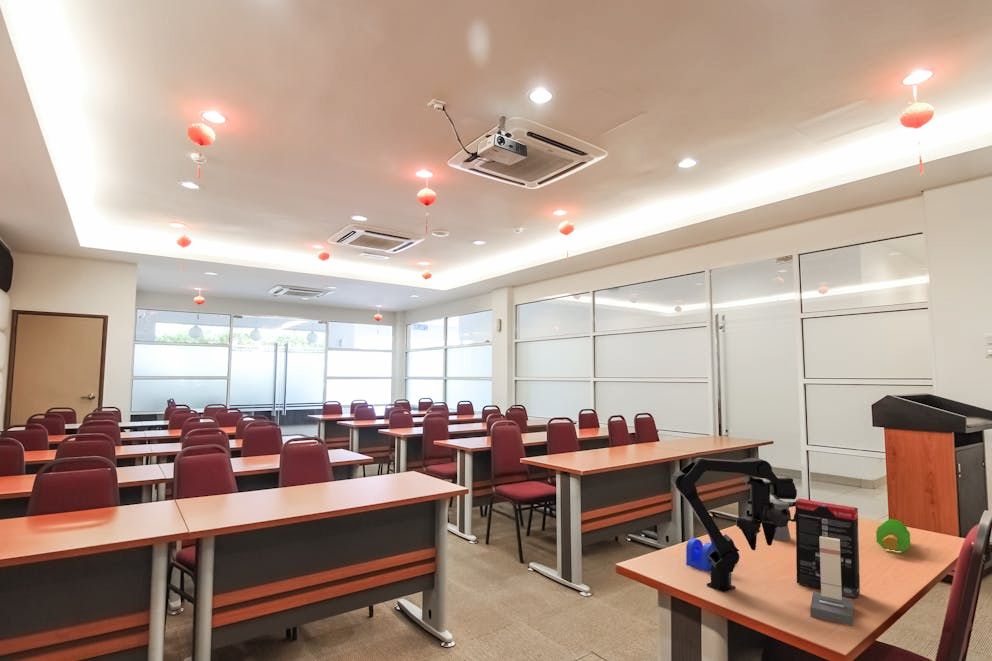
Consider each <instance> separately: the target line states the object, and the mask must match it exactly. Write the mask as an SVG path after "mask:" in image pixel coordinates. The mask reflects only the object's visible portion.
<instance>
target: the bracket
mask: <svg viewBox="0 0 992 661" xmlns="http://www.w3.org/2000/svg"><path fill="white" fill-rule="evenodd" d="M713 551H714V549H713V546H712V544H711V542H706V543H705V544H704V545H703V542H702V540H700V538H699V539H698V538H695V537H691V538H690V539H689V540H688V541H687V544H686V548H685V552H686V553H685V554H686V555H685V557H686V561H685V562H686V563H685V564H686V566H689V567H692V568H695V569H698V570H699V571H700V570H701V571H703V572H705V571H706V573H708V572H711V565H712V564H711V563H710V562H709V560H708V555H709V554H710V553H712V552H713Z"/></svg>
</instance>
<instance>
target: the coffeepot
mask: <svg viewBox="0 0 992 661" xmlns="http://www.w3.org/2000/svg"><path fill="white" fill-rule="evenodd" d="M770 502H773V504H774V508H775V509H777V510H778V509H780V511H781V510H782V509H788V510H789V511H790V507H795V501H786V500H784V499H775V498H772V499H771V498H770ZM791 522H793V523H796V509H795V512H794V514H793V518H791ZM773 539H775V540H774V541H778V540H780V541H781V542H789V541H790V540H791V535H790V528H789V523H788V524H787V526H784V527H782V528H780V527H779V528H777V530H776V532H775V535H774V538H773ZM780 541H779V542H780Z"/></svg>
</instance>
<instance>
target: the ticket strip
mask: <svg viewBox="0 0 992 661" xmlns="http://www.w3.org/2000/svg"><path fill="white" fill-rule="evenodd" d="M819 541H820V572H821V589H820V593H821V596H825V597H830V598H834V599H839V600H842V597H843V595H842V590H841V585H842V584H841V562H840V539H835V538H829V537H823V536H820V537H819Z"/></svg>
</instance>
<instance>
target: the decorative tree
mask: <svg viewBox="0 0 992 661" xmlns="http://www.w3.org/2000/svg"><path fill="white" fill-rule="evenodd" d="M875 535H876V537H875V538H876V543H877V544H878V545H879V546H880V547H882V549H883V550H884V549H889V550H895V551H901V552H902V553H903V552H905V551H907V550H908V549H909V548H910V544H911V532H910V531H909V530H908V529H907V526H906V525H905V524H904V523H903V522H902V521H900V520H899V519H897V520H896V519H891V518H889V519H887V520H886V521H884V522H883V523H882V524H881V525H879V526H878V527H877V528H876V534H875Z"/></svg>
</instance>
